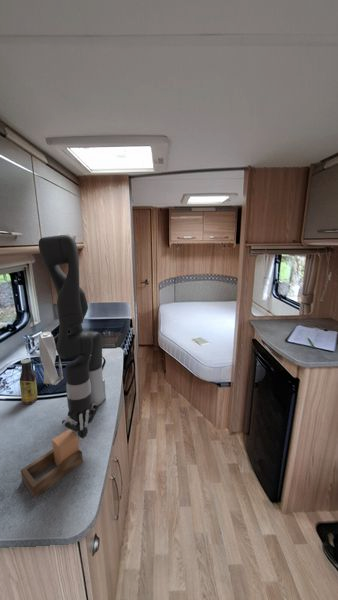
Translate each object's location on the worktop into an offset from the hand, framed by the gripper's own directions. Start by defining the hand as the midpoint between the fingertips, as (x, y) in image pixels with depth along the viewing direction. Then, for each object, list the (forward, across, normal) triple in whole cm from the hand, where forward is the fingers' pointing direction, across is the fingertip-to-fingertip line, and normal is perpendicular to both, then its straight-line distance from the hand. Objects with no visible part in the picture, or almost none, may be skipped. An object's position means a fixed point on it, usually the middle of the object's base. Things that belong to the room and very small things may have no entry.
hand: (82, 436), depth 84 cm
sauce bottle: (+6, 0, -42) cm, 43 cm away
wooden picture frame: (+6, +10, 0) cm, 12 cm away
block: (+5, +6, 0) cm, 8 cm away
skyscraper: (+6, -14, -50) cm, 52 cm away
